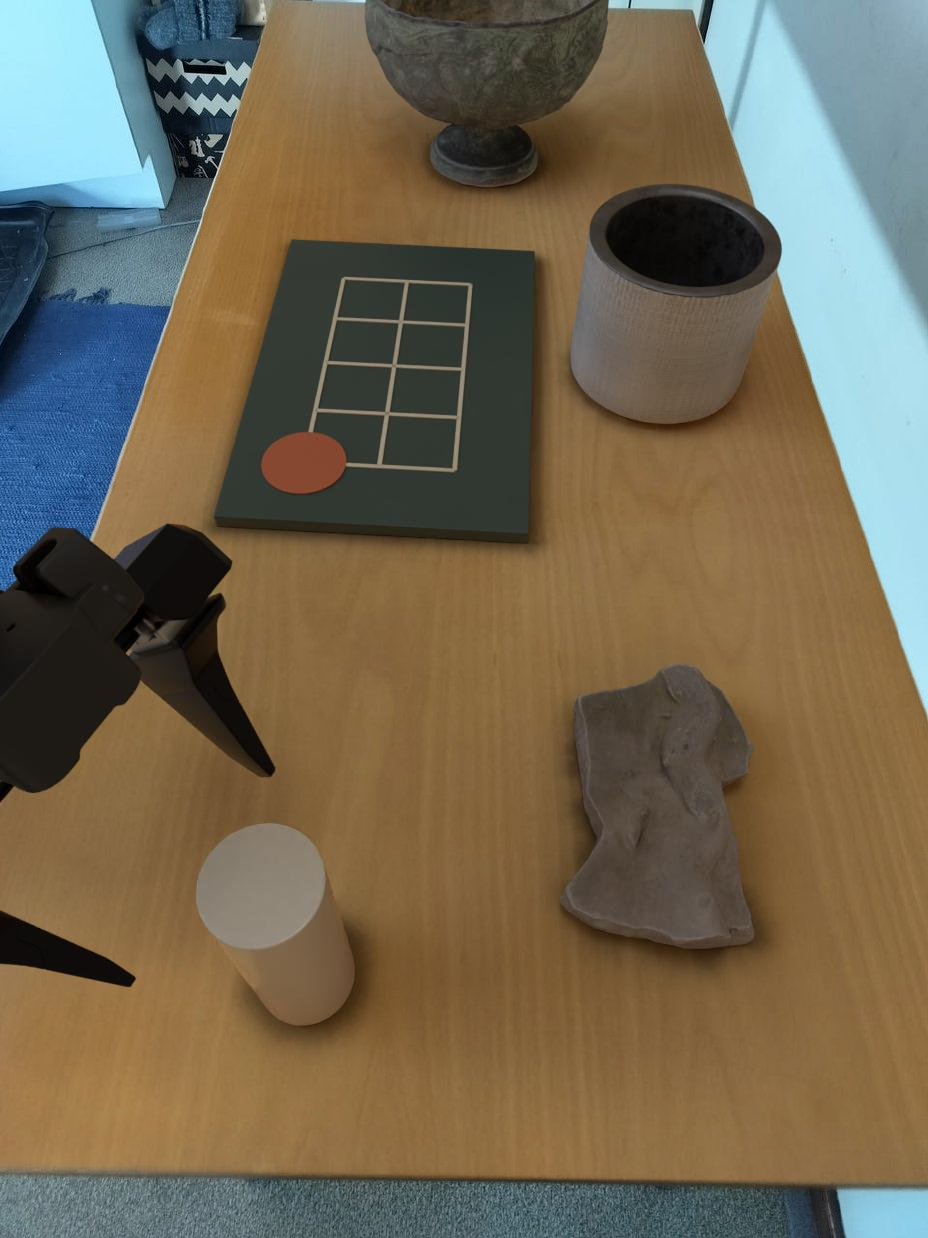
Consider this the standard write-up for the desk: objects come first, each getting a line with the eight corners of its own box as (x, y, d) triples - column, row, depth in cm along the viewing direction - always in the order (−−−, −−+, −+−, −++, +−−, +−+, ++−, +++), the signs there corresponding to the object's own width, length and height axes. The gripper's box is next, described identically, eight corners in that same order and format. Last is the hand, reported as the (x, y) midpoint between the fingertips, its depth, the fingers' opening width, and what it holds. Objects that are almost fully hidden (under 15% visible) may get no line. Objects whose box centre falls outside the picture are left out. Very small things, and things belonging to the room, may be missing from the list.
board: (216, 526, 59) (213, 514, 58) (292, 249, 76) (290, 237, 75) (527, 543, 58) (529, 531, 58) (534, 261, 75) (535, 248, 75)
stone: (758, 971, 44) (783, 947, 40) (556, 945, 44) (565, 920, 41) (742, 703, 52) (762, 665, 49) (573, 684, 53) (581, 645, 49)
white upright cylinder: (249, 1022, 42) (181, 945, 31) (266, 921, 45) (210, 818, 34) (348, 1029, 42) (315, 953, 31) (360, 927, 45) (333, 825, 34)
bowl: (590, 108, 90) (613, -74, 77) (588, 221, 79) (614, 30, 66) (390, 96, 90) (381, -87, 78) (360, 206, 80) (345, 14, 67)
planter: (760, 425, 65) (812, 289, 56) (586, 438, 64) (610, 302, 55) (711, 313, 72) (751, 176, 63) (554, 323, 71) (571, 185, 62)
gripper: (-470, 876, 18) (129, 1191, 25) (118, 341, 28) (441, 668, 34) (-423, 849, 27) (16, 1090, 33) (18, 445, 36) (293, 692, 43)
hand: (204, 871), depth 36 cm, fingers open, 9 cm apart
